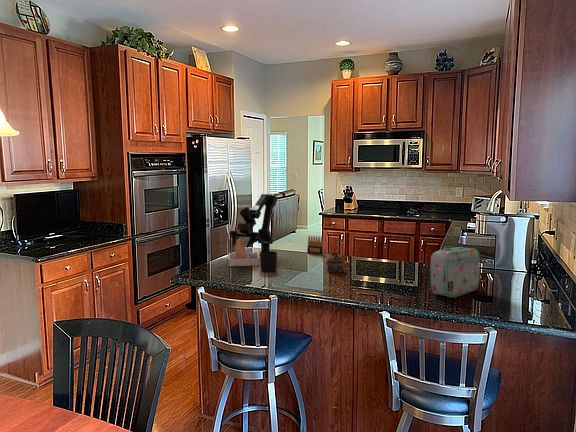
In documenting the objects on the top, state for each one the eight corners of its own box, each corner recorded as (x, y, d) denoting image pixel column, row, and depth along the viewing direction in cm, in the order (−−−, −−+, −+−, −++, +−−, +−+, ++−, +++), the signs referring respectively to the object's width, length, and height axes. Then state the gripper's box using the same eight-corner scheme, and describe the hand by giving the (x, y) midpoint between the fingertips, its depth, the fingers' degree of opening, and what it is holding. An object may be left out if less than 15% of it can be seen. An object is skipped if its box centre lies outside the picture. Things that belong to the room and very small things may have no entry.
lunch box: (447, 301, 185) (449, 252, 183) (426, 295, 193) (428, 248, 191) (481, 290, 201) (484, 245, 198) (461, 285, 209) (463, 241, 207)
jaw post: (238, 260, 261) (238, 238, 259) (245, 260, 259) (245, 239, 258) (235, 261, 257) (234, 239, 255) (241, 262, 255) (241, 240, 254)
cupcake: (346, 272, 236) (347, 253, 235) (331, 273, 233) (331, 255, 232) (338, 268, 245) (338, 250, 244) (323, 269, 242) (323, 251, 240)
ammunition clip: (323, 254, 283) (323, 235, 282) (322, 254, 282) (322, 236, 280) (308, 252, 288) (308, 234, 287) (307, 253, 287) (307, 235, 285)
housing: (228, 259, 267) (228, 253, 267) (258, 258, 269) (258, 252, 269) (228, 266, 249) (228, 259, 249) (259, 265, 252) (259, 258, 251)
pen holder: (276, 272, 235) (276, 254, 233) (259, 272, 235) (259, 254, 234) (277, 268, 244) (277, 251, 243) (260, 268, 244) (260, 250, 243)
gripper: (230, 217, 263) (221, 238, 255) (258, 218, 256) (249, 240, 247) (237, 228, 272) (228, 249, 263) (264, 230, 264) (255, 251, 256)
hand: (240, 247), depth 257 cm, fingers open, 9 cm apart
